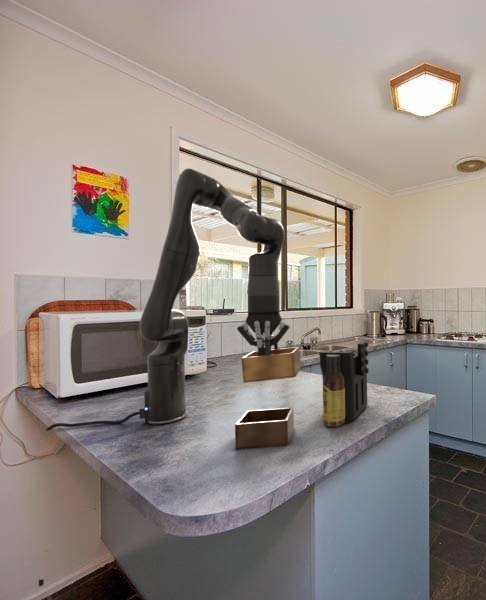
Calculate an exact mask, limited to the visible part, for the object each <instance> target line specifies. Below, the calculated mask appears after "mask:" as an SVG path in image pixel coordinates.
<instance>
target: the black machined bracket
mask: <svg viewBox="0 0 486 600" xmlns="http://www.w3.org/2000/svg"><path fill="white" fill-rule="evenodd" d="M367 348H369V341H361V342H359V343H357V348H349V349H344V350H342V349H341V350H339V351H333V350H320V351H319V352H318V355H319V367H320V371H321V378H322V381H323V380H324V377H325V374H326V371H327V360H326V355H328V354H332V355H341V360H340V371H341V373H342V375H343V377H344V387H345V419H344V420H345V422H344V424H347V423H351V422H353V421H355V419H356V418H357V417H358V416H359V415H360V414H361V413H362V412H363V411H364V410H365V409H366V407H367V406H368V374H369V371H370V369H369V367H368V365H369V359H368V356H369V350H367Z"/></svg>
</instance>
